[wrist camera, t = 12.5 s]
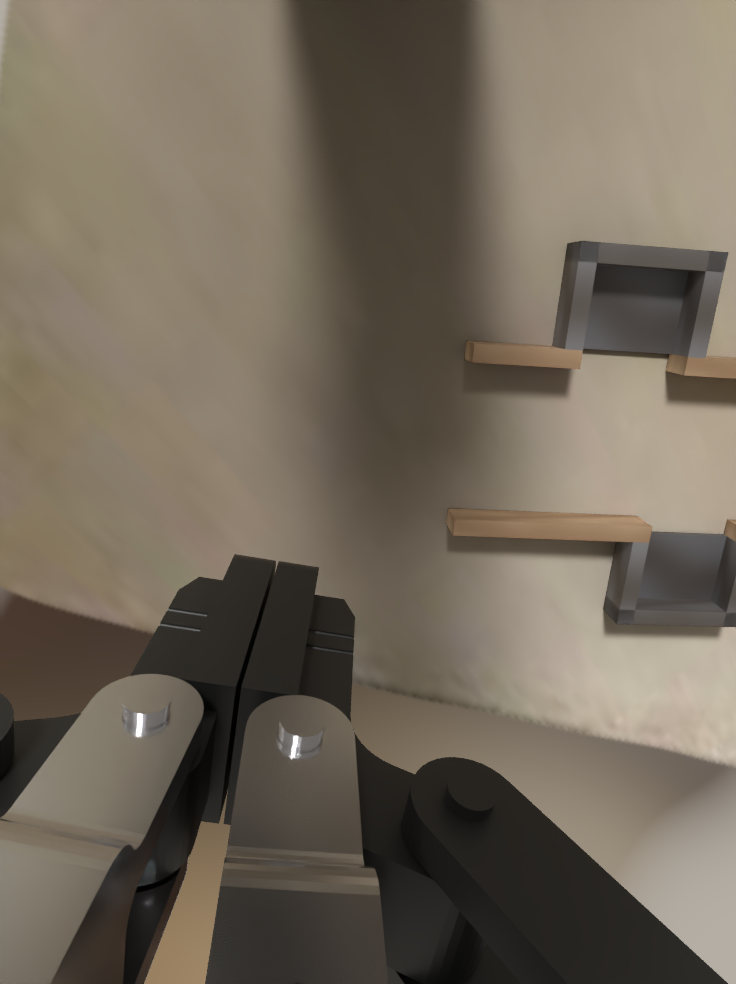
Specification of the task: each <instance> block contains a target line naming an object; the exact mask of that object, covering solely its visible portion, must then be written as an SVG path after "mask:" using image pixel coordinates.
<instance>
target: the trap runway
mask: <svg viewBox="0 0 736 984" xmlns="http://www.w3.org/2000/svg"><path fill="white" fill-rule="evenodd" d="M727 256H728V252H715V251H703V250H690V249H677V248H665V247H652V246H639V245H627V244H614V243H601V242H589V241H579V242H573V243H568V244H567V251H566V257H565V264H564V271H563V278H562V284H561V291H560V298H559V305H558V312H557V318H556V325H555V332H554V339H553V345H552V346H541V345H525V344H509V343H494V342H478V341H466V349H465V358H464V359H466V360H468V361H470V362H472V363H488V364H505V365H521V366H538V367H554V368H570V369H580V365H581V359H582V353H583V349H598V350H614V351H629V352H645V353H661V354H669V358H668V363H667V368H666V371H668V372H672V373H676V374H680V375H685V376H702V377H718V378H734V379H736V358H728V357H713V356H706V353H707V348H708V343H709V339H710V334H711V329H712V325H713V320H714V316H715V311H716V306H717V302H718V297H719V293H720V288H721V283H722V279H723V274H724V270H725V265H726V260H727ZM447 526H448V527H449V529H450V531H451V533H452V535H453V536H479V537H506V538H533V539H560V540H587V541H614V542H616V546H615V551H614V557H613V562H612V567H611V572H610V577H609V582H608V588H607V593H606V598H605V603H604V608H603V609H604V610H605V611H606V613H607V614H608V615H609V616H610V617H611V618H612V619H613V620H614V622H615V623H616V624H634V625H674V626H713V627H736V520H727V524H726V528H725V532H724V534H700V533H674V532H652V527H651V526H650V525H649V524H647V523H646V522H644V521H643V520H642V519H640V518H639V517H637V516H625V515H600V514H575V513H551V512H526V511H502V510H477V509H453V508H448V515H447Z"/></svg>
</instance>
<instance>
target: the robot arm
mask: <svg viewBox="0 0 736 984" xmlns="http://www.w3.org/2000/svg"><path fill="white" fill-rule="evenodd" d="M275 569H276V561H274V560H267V559H261V558H255V557H249V556H242V555H236V554H235V555H234V557H233V559H232V561H231V563H230V566H229V568H228V570H227V572H226V575H225V577H224V579H223V581H222V580H216V579H210V578H203V577H198V578H197V579H195V580H194V581H192V582H191V583H189V584H187V585H186V586H184V587H183V588H181V589H180V590H179V591H178V592H177V594H176V596H175V598H174V599H173V601H172V603H171V605H170V607H169V610H168V611H167V612H166V614H165V615H164V617H163V619H162V621H161V623H160V626H158V628H157V630H156V631H155V633H154V635H153V637H152V639H151V640H150V642H149V644H148V646H147V647H146V649H145V651H144V653H143V654H142V656H141V658H140V660H139V661H138V664H137V665H136V667H135V669H134V670H133V672H132V674H131V676H129V677H126V678H122V679H120V680H117V681H115V682H113V683H111V684H109V685H107V686H106V687H104V688H103V689H102V690H100V691H99V692H98V693H97V694H96V695H95V696H94V697H93V698H92V700H91V701H90V703H89V704H88V705H87V706H86V708H85V709H84V710H83V712H82V713H79V714H75V715H70V716H65V717H57V718H46V719H34V720H23V721H14V711H13V708H12V705H11V703H10V702H9V701H8V699H7V698H5V697H4V696H3V695H1V694H0V984H144V982H145V980H146V977H147V975H148V972H149V969H150V967H151V964H152V961H153V959H154V956H155V954H156V951H157V949H158V946H159V943H160V941H161V938H162V935H163V933H164V930H165V928H166V925H167V922H168V920H169V917H170V915H171V912H172V909H173V907H174V904H175V902H176V899H177V896H178V894H179V891H180V889H181V886H182V883H183V881H184V878H185V875H186V871H187V864H188V857H189V855H190V854H191V851H192V849H193V846H194V843H195V840H196V837H197V833H198V829H199V826H200V823H201V821H204V822H212V823H219V821H220V817H221V814H222V810H223V806H224V802H225V799H226V795H227V791H228V795H227V803H226V810H225V818H224V824H229V825H231V826H230V833H229V839H228V846H227V853H226V857H225V861H224V866H223V873H222V879H221V886H220V892H219V898H218V905H217V911H216V918H215V924H214V930H213V937H212V943H211V950H210V956H209V962H208V969H207V976H206V982H205V984H728V983H727V982H726V981H724V980H723V979H722V978H721V977H720V976H719V975H718V974H717V973H716V972H715V971H714V970H713V969H712V968H710V967H709V966H708V965H707V964H706V963H705V962H704V961H703V960H702V959H701V958H700V957H699V956H697V955H696V954H695V953H694V952H693V951H692V950H691V949H690V948H689V947H688V946H687V945H685V944H684V943H683V942H682V941H681V940H680V939H679V938H678V937H677V936H676V935H675V934H674V933H672V932H671V931H670V930H669V929H668V928H667V927H666V926H665V925H664V924H663V923H662V922H661V921H659V920H658V919H657V918H656V917H655V916H654V915H653V914H652V913H651V912H650V911H649V910H647V909H646V908H645V907H644V906H643V905H642V904H641V903H640V902H639V901H638V900H637V899H636V898H634V897H633V896H632V895H631V894H630V893H629V892H628V891H627V890H626V889H624V887H622V886H621V885H620V884H619V883H618V882H617V881H616V880H615V879H614V878H613V877H612V876H611V875H609V874H608V873H607V872H606V871H605V870H604V869H603V868H602V867H601V866H599V864H598V863H596V862H595V861H594V860H593V859H592V858H591V857H590V856H589V855H588V854H587V853H586V852H584V851H583V850H582V849H581V848H580V847H579V846H578V845H577V844H576V843H575V842H574V841H573V840H571V839H570V838H569V837H568V836H567V835H566V834H565V833H564V832H563V831H562V830H561V829H560V828H558V827H557V826H556V825H555V824H554V823H553V822H552V821H551V820H550V819H549V818H547V817H546V816H545V815H544V814H543V813H542V812H541V811H540V810H539V809H538V808H537V807H536V806H535V805H533V804H532V803H531V802H530V801H529V800H528V799H527V798H526V797H525V796H524V795H523V794H522V793H520V792H519V791H518V790H517V789H516V788H515V787H514V786H513V785H512V784H511V783H510V782H509V781H507V780H506V779H505V778H504V777H503V776H501V775H500V774H499V773H497V772H495V771H494V770H493V769H491V768H489V767H487V766H485V765H483V764H481V763H478V762H475V761H473V760H468V759H464V758H456V757H448V758H447V757H446V758H440V759H436V760H433V761H430V762H428V763H427V764H425V765H423V766H422V767H421V768H420V769H419V770H418V771H417V773H416V774H415V775H414V774H412V773H410V772H407V771H405V770H403V769H400V768H398V767H395V766H393V765H391V764H389V763H387V762H385V761H383V760H381V759H380V758H378V757H376V756H375V755H374V754H372V753H371V752H370V751H369V750H367V749H366V747H365V746H364V745H363V744H361V742H360V741H359V739H358V738H357V736H356V735H355V733H354V729H353V727H352V725H351V718H350V711H351V689H352V669H353V648H354V626H355V617H354V615H353V613H352V612H351V610H350V608H349V607H348V605H347V604H346V602H345V600H344V599H338V598H332V597H325V596H319V595H314V594H315V588H316V582H317V576H318V570H319V567H312V566H306V565H300V564H293V563H287V562H281V561H279V563H278V566H277V569H276V572H275Z"/></svg>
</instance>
